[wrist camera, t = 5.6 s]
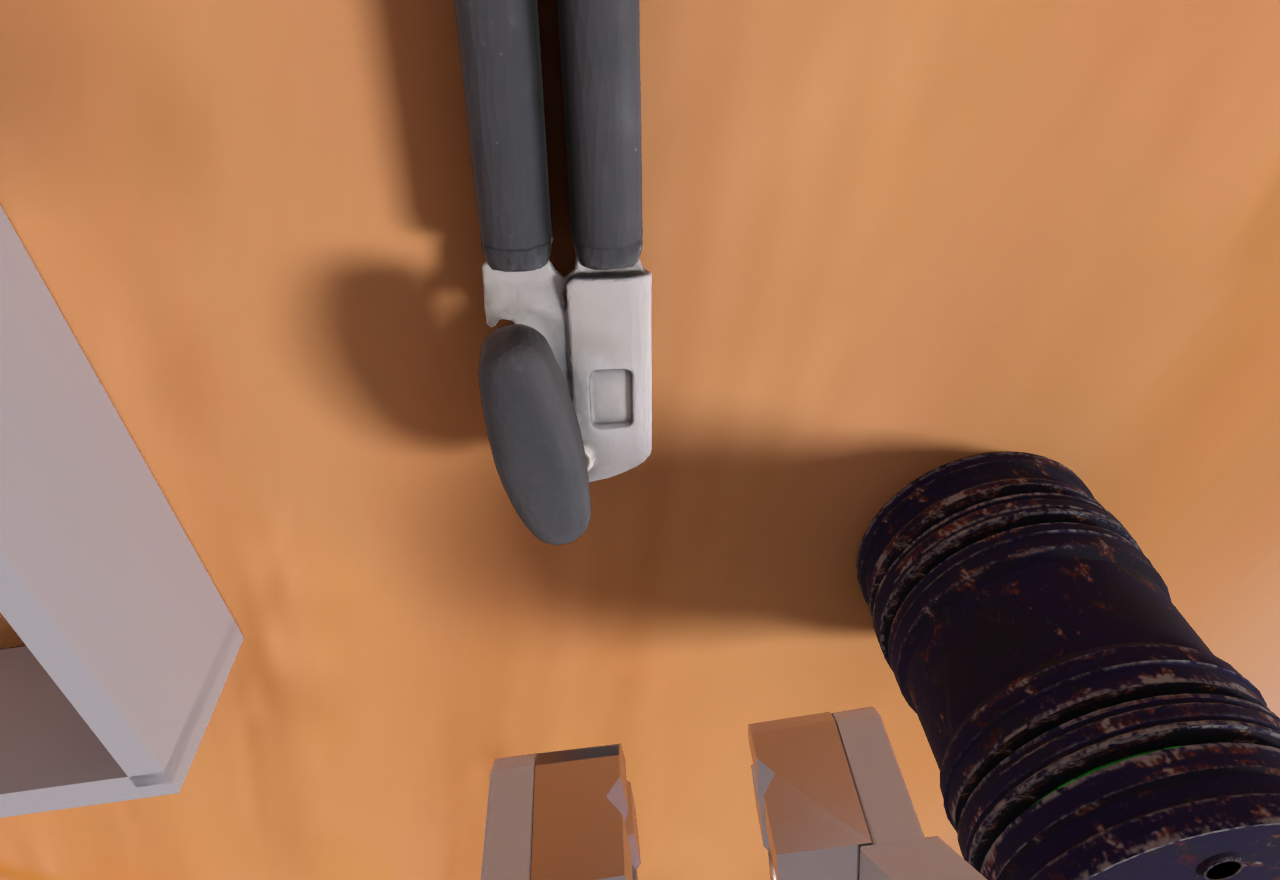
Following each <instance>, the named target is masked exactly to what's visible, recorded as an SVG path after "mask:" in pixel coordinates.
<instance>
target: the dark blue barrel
mask: <svg viewBox="0 0 1280 880" xmlns="http://www.w3.org/2000/svg"><path fill="white" fill-rule="evenodd" d="M857 577H858V581H859V584H860V588H861V591H862V593H863V596H864V598H865V601H866V602H867V604H868V606H869V609H870V612H871V615H872V618H873V624H874V629H875V633H876V636H877V639H878V642H879V644H880V647H881V649H882V652H883V654H884V657H885V659H886V661H887V663H888V664H889V666H890V668H891V669H892V671H893V672H894V675H895V677H896V680H897V682H898V685H899V687H900V690H901V692H902V695H903V696H904V698H905V700H906V701H907V703H908V705H909V706H910V707H911V708H912V709H913V710H914V711H915V712H916V713H917V715H918V717H919V720H920V722H921V725H922V727H923V729H924V732H925V734H926V737H927V739H928V742H929V744H930V747H931V749H932V752H933V754H934V757H935V759H936V762H937V764H938V767H939V769H940V788H941V791H942V795H943V798H944V808H945V811H946V814H947V818H948V820H949V821H950V823H951V824H952V826H953V827H954V829H955V830H956V832H957V834H958V842H959V846H960V849H961V853H962V855H963V857H964V860H965V861H967V862H968V863H969V864H970V865H971V866H972V867H973V868H975V869H976V870H977V871H978V872H979V873H980V874H981V875H983V876H984V877H985V878H986V879H987V880H1280V718H1279V717H1278V716H1276V715H1275V714H1274V713H1273V712H1271V711H1270V710H1269V708H1268V707H1267V704H1266V702H1265V700H1264V699H1263V697H1262V695H1261V693H1260V692H1259V690H1258V689H1257V688H1256V687H1255V686H1254V685H1252V684H1251V683H1250V682H1249V681H1248V680H1247V679H1245V678H1244V677H1242V675H1241V674H1239V673H1238V672H1237V671H1236V670H1235V669H1234V668H1233V667H1232V666H1231V665H1230V664H1228V663H1226V662H1225V661H1223V660H1221V659H1219V658H1218V657H1216V656H1214V655H1213V653H1212V652H1211V651H1210V650H1209V648H1208V647H1207V646H1206V645H1205V643H1204V642H1203V641H1202V640H1201V638H1200V637H1199V636H1198V635H1197V634H1196V632H1195V631H1194V630H1193V629H1192V627H1191V626H1190V625H1189V624H1188V622H1187V621H1186V620H1185V619H1184V617H1183V616H1182V615H1181V614H1180V612H1179V611H1178V610H1177V609H1176V607H1175V606H1174V605H1173V604H1172V602H1171V599H1170V595H1169V592H1168V588H1167V586H1166V584H1165V583H1164V581H1163V579H1162V578H1161V576H1160V575H1159V573H1158V572H1157V571H1156V570H1155V568H1154V567H1153V566H1152V564H1151V562H1150V561H1149V560H1148V559H1147V558H1146V557H1145V556H1144V554H1143V552H1142V551H1141V549H1140V547H1139V546H1138V544H1137V542H1136V541H1135V540H1134V539H1133V538H1132V536H1131V535H1130V534H1129V532H1128V531H1127V530H1126V529H1125V528H1124V527H1123V525H1122V524H1121V523H1120V522H1119V521H1118V520H1117V519H1116V518H1115V517H1114V516H1113V515H1112V514H1111V513H1110V512H1109V511H1107V510H1105V508H1104V507H1103V506H1102V505H1101V504H1100V503H1099V502H1098V501H1097V500H1096V499H1095V498H1094V497H1093V495H1092V493H1091V492H1090V490H1089V489H1088V488H1087V486H1086V485H1085V484H1084V483H1083V481H1082V480H1081V479H1080V478H1079V477H1078V476H1077V475H1076V474H1075V473H1074V472H1073V471H1071V470H1070V469H1068V468H1067V467H1065V466H1063V465H1062V464H1060V463H1059V462H1056V461H1054V460H1051V459H1048V458H1046V457H1043V456H1039V455H1034V454H1029V453H1020V452H997V453H986V454H981V455H976V456H971V457H966V458H963V459H960V460H957V461H954V462H951V463H948V464H945V465H943V466H941V467H939V468H937V469H934V470H932V471H930V472H928V473H926V474H925V475H923V476H921V477H920V478H918V479H916V480H915V481H913V482H911V483H910V484H909V485H907V486H906V487H905V488H903V489H902V490H901V491H900V492H898V493H897V494H896V495H895V496H894V497H893V498H892V499H891V500H890V501H889V502H888V503H887V504H886V505H885V506H884V507H883V508H882V509H881V510H880V511H879V513H878V514H877V515H876V517H875V518H874V519H873V520H872V522H871V523H870V525H869V527H868V529H867V531H866V533H865V535H864V536H863V539H862V542H861V545H860V548H859V551H858V558H857Z"/></svg>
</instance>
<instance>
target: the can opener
mask: <svg viewBox="0 0 1280 880" xmlns="http://www.w3.org/2000/svg"><path fill="white" fill-rule="evenodd" d="M454 4H455V12H456V21H457V29H458V37H459V46H460V55H461V65H462V74H463V83H464V93H465V102H466V111H467V120H468V129H469V138H470V148H471V158H472V167H473V175H474V184H475V192H476V200H477V208H478V216H479V225H480V234H481V244H482V250H483V254H484V256H485V259H486V262H484V264H483V265H482V273H483V285H484V307H485V313H486V321H487V324H488V325H489V326H490V327H494V326H496V324H497V322H498V321H499V320H501V319H506V320H511V321H513V322H514V324H512V325H507V326H502V327H500V328H498V329H496V330H494V331H492V332H491V333H490V334H489V335H488V336H487V337H486V338H485V340H484V342H483V344H482V346H481V351H480V362H479V373H478V375H479V384H480V392H481V400H482V407H483V412H484V418H485V423H486V428H487V433H488V438H489V442H490V446H491V450H492V454H493V458H494V462H495V465H496V469H497V472H498V474H499V477H500V479H501V482H502V484H503V486H504V489H505V491H506V493H507V495H508V497H509V499H510V501H511V503H512V505H513V506H514V508H515V510H516V512H517V513H518V515H519V516H520V518H521V519H522V521H523V522H524V524H525V525H526V526H527V527H528V528H529V530H530V531H531V532H532V533H533V534H534V535H535V536H536V537H537V538H538V539H539V540H541V541H543V542H545V543H548V544H552V545H562V544H567V543H570V542H572V541H575V540H576V539H577V538H579V537H580V536H581V535H582V534H583V533H584V532H585V530H586V529H587V527H588V525H589V522H590V517H591V504H590V488H589V482H592V481H596V480H602V479H606V478H610V477H613V476H616V475H619V474H621V473H623V472H626V471H628V470H630V469H632V468H635V467H637V466H638V465H640V464H641V463H643V462H644V461H645V460H646V459H647V458H648V456H649V455H650V454H651V451H652V354H651V283H652V275H651V272H649V271H647V270H645V269H644V268H643V267H642V264H641V261H640V260H639V257H640V254H641V250H642V233H643V229H642V161H641V89H640V48H639V0H557V4H558V20H559V37H560V54H561V70H562V86H563V102H564V118H565V136H566V154H567V172H568V191H569V209H570V225H571V234H572V239H573V244H574V249H575V252H576V257H575V268H574V270H573V271H572V272H571V273H569V274H568V275H566V277H563V275H562V274H561V273H559V272H558V271H556V270H555V268H554V266H553V265H552V263H551V262H550V261H549V257H550V252H551V245H552V242H553V240H554V238H553V226H552V219H551V202H550V189H549V175H548V154H547V139H546V125H545V109H544V94H543V77H542V61H541V40H540V24H539V9H538V0H454Z"/></svg>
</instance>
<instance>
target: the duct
mask: <svg viewBox="0 0 1280 880" xmlns="http://www.w3.org/2000/svg"><path fill="white" fill-rule="evenodd" d="M0 613H1V614H2V615H3V617H4V618H5V619H6V620H7V622H8V623H9V624H10V626H11V627H12V628H13V629H14V631H15V632H16V633H17V635H18V636H19V637H20V638H21V640H22V641H23V642H24V644H25V645H26V646H22V647H15V648H8V649H1V650H0V818H1V817H9V816H16V815H23V814H30V813H38V812H45V811H52V810H60V809H67V808H74V807H81V806H89V805H96V804H103V803H110V802H118V801H125V800H132V799H139V798H147V797H154V796H161V795H169V794H176V793H179V792H180V790H181V788H182V785H183V783H184V780H185V778H186V776H187V773H188V771H189V768H190V766H191V764H192V761H193V759H194V756H195V754H196V752H197V749H198V747H199V744H200V742H201V740H202V737H203V735H204V732H205V730H206V728H207V725H208V723H209V720H210V718H211V716H212V713H213V711H214V708H215V706H216V704H217V701H218V699H219V696H220V694H221V692H222V689H223V687H224V684H225V682H226V680H227V677H228V675H229V672H230V670H231V668H232V665H233V663H234V660H235V658H236V656H237V653H238V651H239V648H240V646H241V644H242V641H243V639H244V637H243V635H242V633H241V631H240V630H239V628H238V626H237V624H236V623H235V621H234V619H233V617H232V615H231V614H230V612H229V610H228V608H227V607H226V605H225V603H224V601H223V599H222V598H221V596H220V594H219V592H218V591H217V589H216V587H215V585H214V583H213V582H212V580H211V578H210V576H209V575H208V573H207V571H206V569H205V567H204V566H203V564H202V562H201V560H200V559H199V557H198V555H197V553H196V551H195V550H194V548H193V546H192V544H191V543H190V541H189V539H188V537H187V536H186V534H185V532H184V530H183V528H182V527H181V525H180V523H179V521H178V520H177V518H176V516H175V514H174V512H173V511H172V509H171V507H170V505H169V504H168V502H167V500H166V498H165V496H164V495H163V493H162V491H161V489H160V488H159V486H158V484H157V482H156V480H155V479H154V477H153V475H152V473H151V472H150V470H149V468H148V466H147V464H146V463H145V461H144V459H143V457H142V456H141V454H140V452H139V450H138V449H137V447H136V445H135V443H134V441H133V440H132V438H131V436H130V434H129V433H128V431H127V429H126V427H125V425H124V424H123V422H122V420H121V418H120V417H119V415H118V413H117V411H116V409H115V408H114V406H113V404H112V402H111V401H110V399H109V397H108V395H107V393H106V392H105V390H104V388H103V386H102V385H101V383H100V381H99V379H98V377H97V376H96V374H95V372H94V370H93V369H92V367H91V365H90V363H89V361H88V360H87V358H86V356H85V354H84V353H83V351H82V349H81V347H80V346H79V344H78V342H77V340H76V338H75V337H74V335H73V333H72V331H71V330H70V328H69V326H68V324H67V322H66V321H65V319H64V317H63V315H62V314H61V312H60V310H59V308H58V306H57V305H56V303H55V301H54V299H53V298H52V296H51V294H50V292H49V290H48V289H47V287H46V285H45V283H44V282H43V280H42V278H41V276H40V274H39V273H38V271H37V269H36V267H35V266H34V264H33V262H32V260H31V259H30V257H29V255H28V253H27V251H26V250H25V248H24V246H23V244H22V243H21V241H20V239H19V237H18V235H17V234H16V232H15V230H14V228H13V227H12V225H11V223H10V221H9V219H8V218H7V216H6V214H5V212H4V211H3V209H2V207H1V205H0Z"/></svg>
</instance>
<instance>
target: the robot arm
mask: <svg viewBox="0 0 1280 880" xmlns="http://www.w3.org/2000/svg"><path fill="white" fill-rule="evenodd" d="M748 734H749V744H750V750H751V755H752V760H753V765H752V766H751V767H752V776H753V784H754V792H755V800H756V807H757V812H758V818H759V823H760V829H761V834H762V839H763V845H764V847H765V848H766V849H767V850H768V857H769V867H770V878H771V880H987V879H986V878H985V877H984V876H983V875H981V874H980V873H979V872H978V871H977V870H976V869H975V868H973V867H972V866H971V865H970V864H969V863H968V862H967V861H965V860H964V859H963V858H962V857H961V856H960V855H959V854H957V853H956V852H955V851H954V850H953V849H952V848H951V847H950V846H948V845H947V844H946V843H945V842H944V841H943V840H942V839H940V838H939V837H938V836H937V837H924V834H923V831H922V829H921V826H920V823H919V820H918V818H917V815H916V812H915V809H914V807H913V804H912V801H911V798H910V796H909V793H908V790H907V787H906V785H905V782H904V779H903V776H902V774H901V771H900V768H899V765H898V763H897V760H896V757H895V754H894V752H893V749H892V746H891V743H890V741H889V738H888V735H887V732H886V730H885V727H884V724H883V721H882V719H881V716H880V714H879V713H878V712H877V711H876V709H875V708H874V707H867V708H861V709H854V710H848V711H842V712H836V713H831V714H830V712H825V713H819V714H812V715H806V716H799V717H793V718H786V719H780V720H774V721H767V722H761V723H754V724H748ZM640 863H641V860H640V848H639V836H638V827H637V818H636V810H635V804H634V798H633V793H632V788H631V783H630V782H629V781H627V779H626V764H625V757H624V754H623V750H622V746H621V743H620V744H612V745H604V746H596V747H587V748H579V749H571V750H563V751H554V752H546V753H535V754H528V755H520V756H513V757H506V758H499V759H495V761H494V764H493V767H492V770H491V773H490V784H489V795H488V806H487V818H486V829H485V840H484V851H483V862H482V874H481V880H638V876H637V871H636V870H637V868H638V867H639V865H640Z"/></svg>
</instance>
